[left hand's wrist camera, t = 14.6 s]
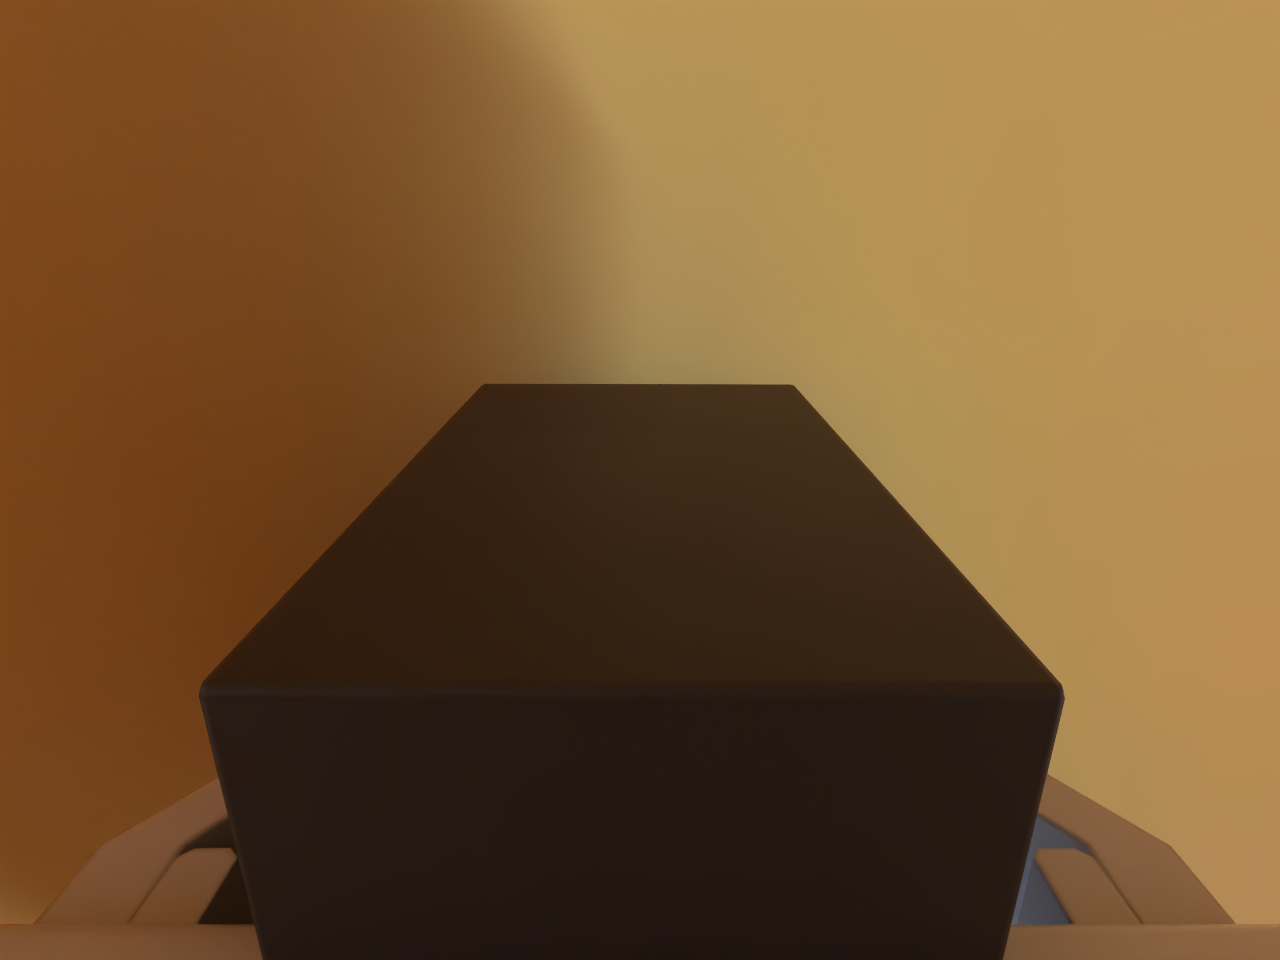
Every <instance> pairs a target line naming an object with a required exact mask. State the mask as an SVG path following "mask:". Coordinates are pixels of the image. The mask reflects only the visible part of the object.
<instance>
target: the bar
mask: <svg viewBox="0 0 1280 960" xmlns="http://www.w3.org/2000/svg"><path fill="white" fill-rule="evenodd" d="M199 698H200V703H201V707H202V711H203V715H204V719H205V723H206V727H207V731H208V736H209V740H210V744H211V748H212V752H213V756H214V760H215V765H216V769H217V773H218V777H219V781H220V785H221V789H222V794H223V798H224V802H225V806H226V810H227V814H228V818H229V823H230V827H231V831H232V835H233V839H234V843H235V847H236V851H237V856H238V860H239V864H240V868H241V872H242V876H243V880H244V885H245V889H246V893H247V897H248V901H249V905H250V909H251V914H252V918H253V922H254V926H255V930H256V934H257V938H258V942H259V947H260V951H261V955H262V959H263V960H1003V957H1004V952H1005V948H1006V944H1007V940H1008V936H1009V931H1010V927H1011V923H1012V919H1013V915H1014V910H1015V906H1016V902H1017V898H1018V894H1019V889H1020V885H1021V881H1022V877H1023V872H1024V868H1025V864H1026V860H1027V856H1028V851H1029V847H1030V843H1031V839H1032V835H1033V830H1034V826H1035V822H1036V818H1037V814H1038V809H1039V805H1040V801H1041V797H1042V793H1043V788H1044V784H1045V780H1046V776H1047V772H1048V767H1049V763H1050V759H1051V755H1052V751H1053V746H1054V742H1055V738H1056V734H1057V730H1058V725H1059V721H1060V717H1061V713H1062V709H1063V704H1064V700H1065V698H1064V691H1063V688H1062V685H1061V683H1060V682H1059V681H1058V680H1057V679H1056V678H1055V677H1054V676H1053V675H1052V673H1051V672H1050V671H1049V670H1048V669H1047V668H1046V667H1045V666H1044V664H1043V663H1042V662H1041V661H1040V660H1039V659H1038V658H1037V657H1036V656H1035V654H1034V653H1033V652H1032V651H1031V650H1030V649H1029V648H1028V647H1027V646H1026V644H1025V643H1024V642H1023V641H1022V640H1021V639H1020V638H1019V637H1018V635H1017V634H1016V633H1015V632H1014V631H1013V630H1012V629H1011V628H1010V627H1009V625H1008V624H1007V623H1006V622H1005V621H1004V620H1003V619H1002V618H1001V616H1000V615H999V614H998V613H997V612H996V611H995V610H994V609H993V608H992V606H991V605H990V604H989V603H988V602H987V601H986V600H985V599H984V597H983V596H982V595H981V594H980V593H979V592H978V591H977V590H976V589H975V587H974V586H973V585H972V584H971V583H970V582H969V581H968V580H967V578H966V577H965V576H964V575H963V574H962V573H961V572H960V571H959V570H958V568H957V567H956V566H955V565H954V564H953V563H952V562H951V561H950V559H949V558H948V557H947V556H946V555H945V554H944V553H943V552H942V551H941V549H940V548H939V547H938V546H937V545H936V544H935V543H934V542H933V540H932V539H931V538H930V537H929V536H928V535H927V534H926V533H925V532H924V530H923V529H922V528H921V527H920V526H919V525H918V524H917V523H916V521H915V520H914V519H913V518H912V517H911V516H910V515H909V514H908V513H907V511H906V510H905V509H904V508H903V507H902V506H901V505H900V504H899V503H898V501H897V500H896V499H895V498H894V497H893V496H892V495H891V494H890V492H889V491H888V490H887V489H886V488H885V487H884V486H883V485H882V484H881V482H880V481H879V480H878V479H877V478H876V477H875V476H874V475H873V473H872V472H871V471H870V470H869V469H868V468H867V467H866V466H865V465H864V463H863V462H862V461H861V460H860V459H859V458H858V457H857V456H856V454H855V453H854V452H853V451H852V450H851V449H850V448H849V447H848V446H847V444H846V443H845V442H844V441H843V440H842V439H841V438H840V437H839V435H838V434H837V433H836V432H835V431H834V430H833V429H832V428H831V427H830V425H829V424H828V423H827V422H826V421H825V420H824V419H823V418H822V416H821V415H820V414H819V413H818V412H817V411H816V410H815V409H814V408H813V406H812V405H811V404H810V403H809V402H808V401H807V400H806V399H805V397H804V396H803V395H802V394H801V393H800V392H799V391H798V390H797V389H796V387H795V386H793V385H725V384H484V385H482V386H481V387H480V388H479V389H478V390H477V391H476V392H475V393H474V394H473V395H472V397H471V398H470V399H469V400H468V401H467V402H466V403H465V404H464V405H463V406H462V407H461V408H460V409H459V410H458V411H457V412H456V414H455V415H454V416H453V417H452V418H451V419H450V420H449V421H448V422H447V423H446V424H445V425H444V426H443V427H442V428H441V429H440V430H439V432H438V433H437V434H436V435H435V436H434V437H433V438H432V439H431V440H430V441H429V442H428V443H427V444H426V445H425V446H424V447H423V449H422V450H421V451H420V452H419V453H418V454H417V455H416V456H415V457H414V458H413V459H412V460H411V461H410V462H409V463H408V464H407V465H406V467H405V468H404V469H403V470H402V471H401V472H400V473H399V474H398V475H397V476H396V477H395V478H394V479H393V480H392V481H391V482H390V484H389V485H388V486H387V487H386V488H385V489H384V490H383V491H382V492H381V493H380V494H379V495H378V496H377V497H376V498H375V499H374V500H373V502H372V503H371V504H370V505H369V506H368V507H367V508H366V509H365V510H364V511H363V512H362V513H361V514H360V515H359V516H358V517H357V519H356V520H355V521H354V522H353V523H352V524H351V525H350V526H349V527H348V528H347V529H346V530H345V531H344V532H343V533H342V534H341V535H340V537H339V538H338V539H337V540H336V541H335V542H334V543H333V544H332V545H331V546H330V547H329V548H328V549H327V550H326V551H325V552H324V554H323V555H322V556H321V557H320V558H319V559H318V560H317V561H316V562H315V563H314V564H313V565H312V566H311V567H310V568H309V569H308V570H307V572H306V573H305V574H304V575H303V576H302V577H301V578H300V579H299V580H298V581H297V582H296V583H295V584H294V585H293V586H292V587H291V589H290V590H289V591H288V592H287V593H286V594H285V595H284V596H283V597H282V598H281V599H280V600H279V601H278V602H277V603H276V604H275V605H274V607H273V608H272V609H271V610H270V611H269V612H268V613H267V614H266V615H265V616H264V617H263V618H262V619H261V620H260V621H259V622H258V624H257V625H256V626H255V627H254V628H253V629H252V630H251V631H250V632H249V633H248V634H247V635H246V636H245V637H244V638H243V639H242V640H241V642H240V643H239V644H238V645H237V646H236V647H235V648H234V649H233V650H232V651H231V652H230V653H229V654H228V655H227V656H226V657H225V658H224V660H223V661H222V662H221V663H220V664H219V665H218V666H217V667H216V668H215V669H214V670H213V671H212V672H211V673H210V674H209V675H208V677H207V678H206V679H205V680H204V681H203V682H202V685H201V688H200V693H199Z"/></svg>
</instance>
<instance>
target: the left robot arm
mask: <svg viewBox="0 0 1280 960" xmlns="http://www.w3.org/2000/svg"><path fill="white" fill-rule="evenodd" d="M0 960H263V959H262V955H261V951H260V947H259V942H258V938H257V934H256V930H255V926H254V922H253V918H252V914H251V909H250V905H249V901H248V897H247V893H246V889H245V885H244V880H243V876H242V872H241V868H240V864H239V860H238V856H237V851H236V847H235V843H234V839H233V835H232V831H231V827H230V823H229V818H228V814H227V810H226V806H225V802H224V798H223V794H222V789H221V785H220V781H219V777H218V778H217V779H215V780H213V781H211V782H210V783H208V784H206V785H204V786H203V787H201V788H199V789H197V790H196V791H194V792H192V793H190V794H189V795H187V796H185V797H184V798H182V799H180V800H178V801H177V802H175V803H173V804H171V805H170V806H168V807H166V808H164V809H163V810H161V811H159V812H157V813H156V814H154V815H152V816H150V817H149V818H147V819H145V820H144V821H142V822H140V823H138V824H137V825H135V826H133V827H131V828H130V829H128V830H126V831H124V832H123V833H121V834H119V835H117V836H116V837H114V838H112V839H111V840H109V841H107V842H105V843H104V844H102V845H101V846H100V847H99V848H98V849H97V850H96V851H95V853H94V854H93V855H92V856H91V857H90V858H89V860H88V861H87V862H86V863H85V864H84V865H83V867H82V868H81V869H80V870H79V871H78V872H77V874H76V875H75V876H74V877H73V878H72V879H71V881H70V882H69V883H68V884H67V885H66V886H65V888H64V889H63V890H62V891H61V892H60V893H59V895H58V896H57V897H56V898H55V899H54V900H53V902H52V903H51V904H50V905H49V906H48V907H47V909H46V910H45V911H44V912H43V913H42V914H41V916H40V917H39V918H38V919H37V920H36V921H35V923H34V924H0ZM1003 960H1280V924H1236V923H1235V922H1234V921H1233V920H1232V919H1231V917H1230V916H1229V915H1228V914H1227V913H1226V911H1225V910H1224V909H1223V908H1222V907H1221V905H1220V904H1219V903H1218V902H1217V901H1216V899H1215V898H1214V897H1213V896H1212V895H1211V893H1210V892H1209V891H1208V890H1207V889H1206V888H1205V886H1204V885H1203V884H1202V883H1201V882H1200V880H1199V879H1198V878H1197V877H1196V876H1195V874H1194V873H1193V872H1192V871H1191V870H1190V868H1189V867H1188V866H1187V865H1186V864H1185V862H1184V861H1183V860H1182V859H1181V858H1180V856H1179V855H1178V854H1177V853H1176V852H1175V851H1174V849H1173V848H1172V847H1171V846H1170V845H1168V844H1166V843H1165V842H1163V841H1161V840H1159V839H1158V838H1156V837H1154V836H1153V835H1151V834H1149V833H1147V832H1146V831H1144V830H1142V829H1141V828H1139V827H1137V826H1135V825H1134V824H1132V823H1130V822H1129V821H1127V820H1125V819H1123V818H1122V817H1120V816H1118V815H1117V814H1115V813H1113V812H1111V811H1110V810H1108V809H1106V808H1105V807H1103V806H1101V805H1099V804H1098V803H1096V802H1094V801H1093V800H1091V799H1089V798H1087V797H1086V796H1084V795H1082V794H1081V793H1079V792H1077V791H1075V790H1074V789H1072V788H1070V787H1069V786H1067V785H1065V784H1063V783H1062V782H1060V781H1058V780H1057V779H1055V778H1053V777H1051V776H1050V775H1048V774H1047V776H1046V780H1045V784H1044V788H1043V793H1042V797H1041V801H1040V805H1039V809H1038V814H1037V818H1036V822H1035V826H1034V830H1033V835H1032V839H1031V843H1030V847H1029V851H1028V856H1027V860H1026V864H1025V868H1024V872H1023V877H1022V881H1021V885H1020V889H1019V894H1018V898H1017V902H1016V906H1015V910H1014V915H1013V919H1012V923H1011V927H1010V931H1009V936H1008V940H1007V944H1006V948H1005V952H1004V957H1003Z"/></svg>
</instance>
